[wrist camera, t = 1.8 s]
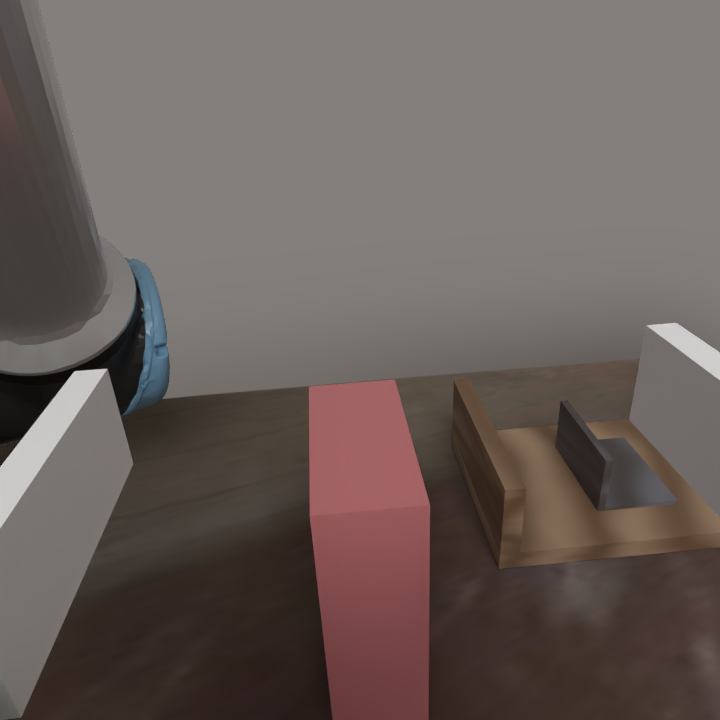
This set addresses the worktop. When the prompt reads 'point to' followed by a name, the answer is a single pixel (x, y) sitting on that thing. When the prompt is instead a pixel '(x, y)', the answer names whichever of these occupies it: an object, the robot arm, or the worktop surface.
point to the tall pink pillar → (370, 551)
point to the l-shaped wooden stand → (574, 489)
